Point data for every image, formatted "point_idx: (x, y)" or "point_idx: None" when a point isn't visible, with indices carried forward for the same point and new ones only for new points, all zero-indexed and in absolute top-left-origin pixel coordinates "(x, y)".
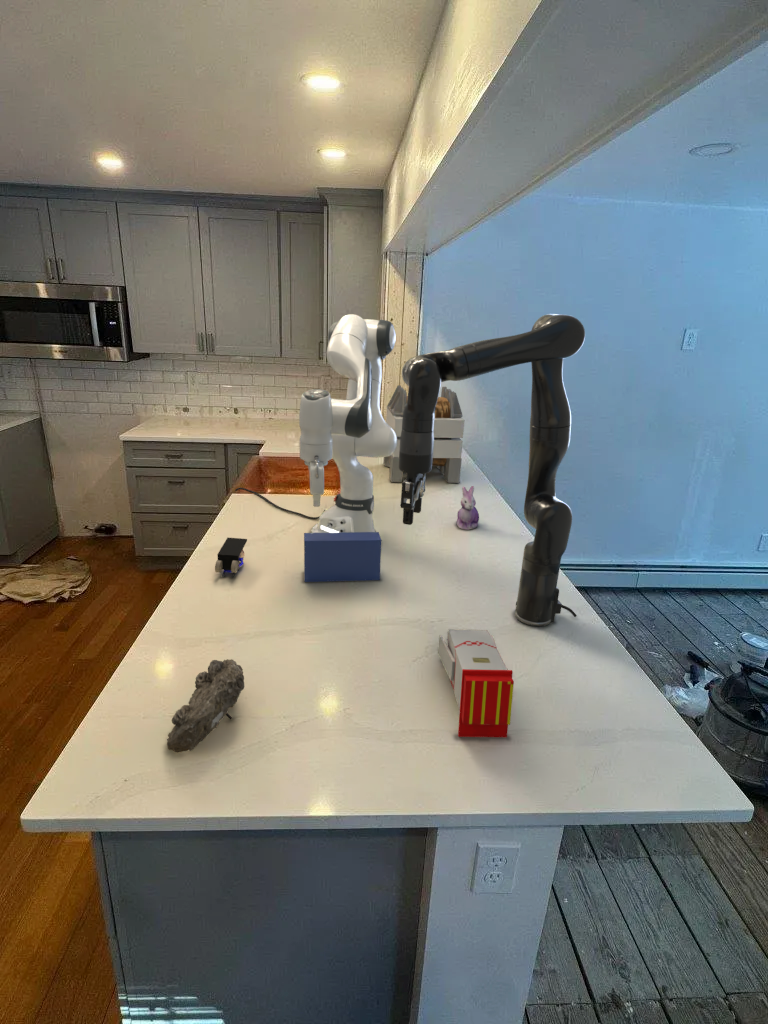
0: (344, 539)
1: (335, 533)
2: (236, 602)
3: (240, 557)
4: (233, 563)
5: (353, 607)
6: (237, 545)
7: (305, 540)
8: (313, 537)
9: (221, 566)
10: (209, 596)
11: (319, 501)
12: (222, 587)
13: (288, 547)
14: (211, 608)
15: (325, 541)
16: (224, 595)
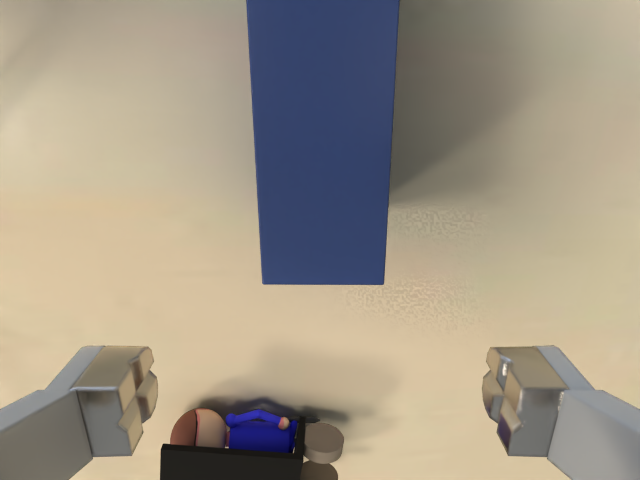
0: (376, 41)
1: (269, 99)
2: (472, 396)
3: (219, 423)
4: (333, 457)
5: (598, 30)
6: (221, 471)
7: (373, 279)
8: (332, 237)
9: (311, 471)
10: (425, 456)
11: (585, 386)
12: (375, 434)
13: (58, 267)
14: (493, 446)
15: (389, 169)
16: (425, 425)
